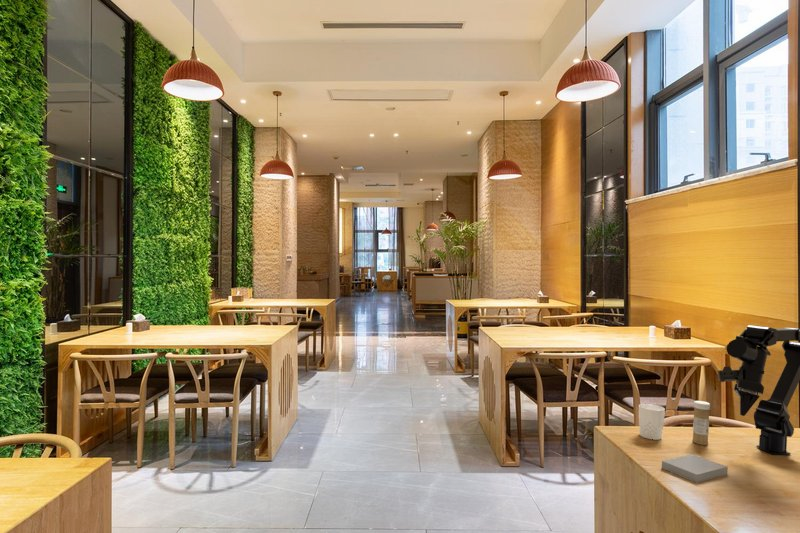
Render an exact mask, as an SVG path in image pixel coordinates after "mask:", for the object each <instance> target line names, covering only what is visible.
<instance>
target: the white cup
mask: <svg viewBox="0 0 800 533" xmlns="http://www.w3.org/2000/svg"><path fill="white" fill-rule="evenodd" d="M665 412H666V408H665V407H663V406H661V405H655V404H650V403H641V404H638V428H639V430H638V432H639V436H640V437H641V438H645V439H646V440H647V439H648V440H652V439H653V440H654V441H658V440H661V439H663V430H664V424H665Z"/></svg>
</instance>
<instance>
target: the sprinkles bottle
mask: <svg viewBox="0 0 800 533" xmlns="http://www.w3.org/2000/svg"><path fill="white" fill-rule="evenodd" d="M693 408H694V409H693V422H692V424H693V425H692V440H691V441H692V442H693V443H695V444H697V445H702V446H703V445H704V446H706V445H708V444H709V434H710V433H709V430H710V429H709V428H710V409H711V403H709V402H708V401H704V400H694V401H693Z"/></svg>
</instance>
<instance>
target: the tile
mask: <svg viewBox="0 0 800 533" xmlns="http://www.w3.org/2000/svg"><path fill="white" fill-rule="evenodd" d="M662 468H663V469H662ZM661 469H662V470H664V469H665V471H667V470H668V471H667V472H669V471H670V472H669V473H672V472H673V474H674V473H675V474H674V475H677V476H680V477H682V478H685V479H687V480H688V481H691V482H694V483H696V484H697V483H701V482H705V481H709V480H712V479H716V478H720V477H723V476H728V471H729V469H728V466H726V465H724V464H721V463H718V462H716V461H713V460H710V459H707V458H705V457H701V456H699V455H696V454H693V453H690V454H686V455H682V456H678V457H674V458H669V459H664V460H661Z"/></svg>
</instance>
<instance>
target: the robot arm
mask: <svg viewBox="0 0 800 533" xmlns="http://www.w3.org/2000/svg"><path fill="white" fill-rule="evenodd" d="M778 342H782V344H781V348H782V349H783V351H784V353H783V355H784V358H785V362H786V363H785V365H784V367H783V370H782V372H781V373H780V376H779V378H778V381H777V383H776V385H775V386H774V389H773V391H772V393H771V395H770V397H769V398H768V399H760V400H759V402H758V405H757V407H755V411H754V412H753V421H754V425H755V429H758V430H760V434H759V439H758V440H759V442H758V443H759V444H758V445H756V447H755V448H757V449H760V450H762V451H763V452H765V453H768V454H769V455H782V456H783V455H786V456H787V455H789V456H790V455H791V454H792V453H791V452H789V451H788V450H787V446H788V438H792V437H793V435H794V433H795V428H794V426H793V424H792V422H791V420H790V417H791V416H790V412H789V409H788V408H789V404H790V402H791V400H792V398H793V396H794V393H795V392H796V389H797V386H798V385H799V382H800V328H795V327H781V328H779V327H778V328H777V327H776V328H774V327H769V326H768V327H767V326H759V325H753V324H750V325H747V326H746V328H745V329H744V330H743V331H742V332H741V333H740V334H739V335H736V337H735V339H732V340H730V341H729V342H728V344H727V345H726V348H725V349H726V353H727V354H728V355H729V356H730V357H732V358H734V359H735V360H739V361H741V366H739V368H738V369H732V368H731V366H723V368H722V370H721V369H719V370H718V371H717V376H718V377H717V378H718V381H719V383H725V382H733V381H735V383H736V384H734V386H733V391H734V393H735V394H736V395H737V396H738V397H739V398H738V399H739V415H740V416H742V417H744V416H746V415H747V413H749V411H750V409H751V408H753V406H754V405H755V403H756V402H757V401H758V399H759V398H760V397H761V396H760V395H763V394H764V390H765V387H764V385H763V384H762V382H763V376H764V374H765V368H766V367H765V366H766V364H767V358H768V356H771V352H770V350H769V349H768V347H771V346H774V345H777V343H778ZM759 394H760V395H759Z"/></svg>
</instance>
